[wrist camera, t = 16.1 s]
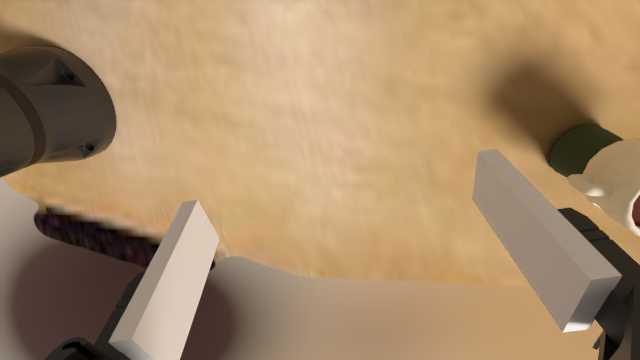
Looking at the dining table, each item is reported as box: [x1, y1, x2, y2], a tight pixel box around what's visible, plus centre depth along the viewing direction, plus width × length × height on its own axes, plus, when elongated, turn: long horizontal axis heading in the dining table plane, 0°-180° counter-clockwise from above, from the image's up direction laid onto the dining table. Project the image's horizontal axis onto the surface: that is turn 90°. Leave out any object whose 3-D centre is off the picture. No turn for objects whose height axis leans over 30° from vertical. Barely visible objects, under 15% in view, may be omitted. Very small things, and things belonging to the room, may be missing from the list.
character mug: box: [549, 125, 640, 237], centre depth 29 cm, size 11×7×13 cm, turn 92°
